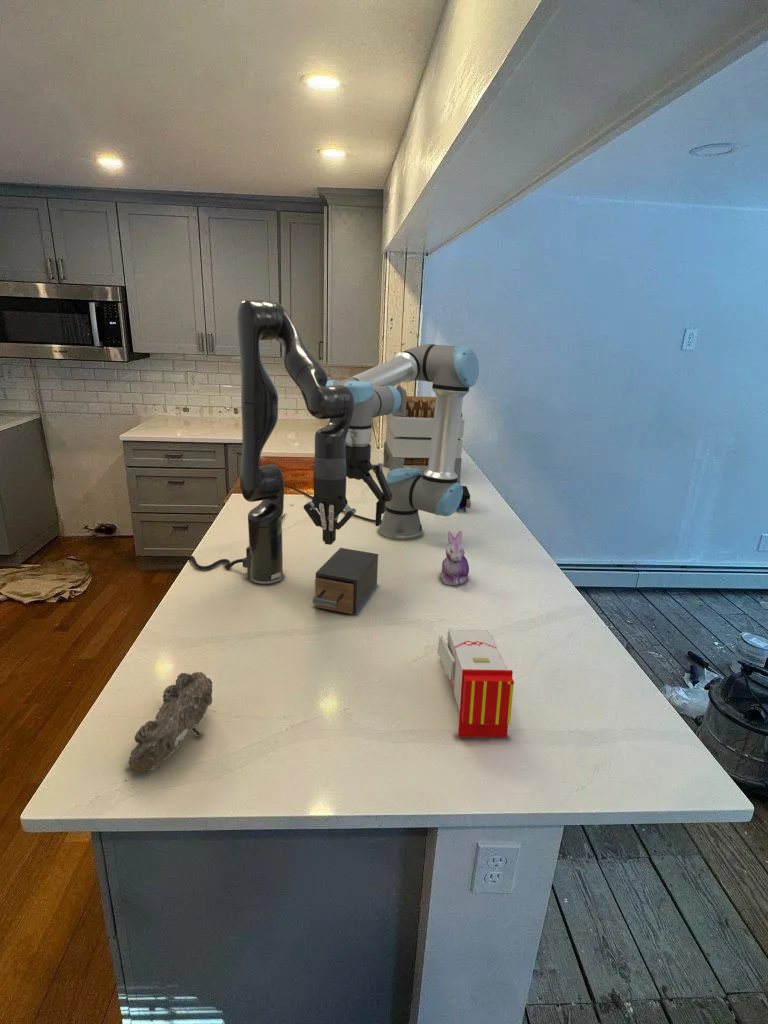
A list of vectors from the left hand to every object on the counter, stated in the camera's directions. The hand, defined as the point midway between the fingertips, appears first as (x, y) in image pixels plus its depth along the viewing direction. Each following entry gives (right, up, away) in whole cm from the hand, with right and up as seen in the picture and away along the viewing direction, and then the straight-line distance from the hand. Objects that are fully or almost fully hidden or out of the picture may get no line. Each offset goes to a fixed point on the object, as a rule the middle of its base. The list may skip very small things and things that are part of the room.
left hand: (329, 543), depth 136 cm
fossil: (-24, -33, -32) cm, 52 cm away
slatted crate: (+30, +26, +139) cm, 144 cm away
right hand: (+5, +5, +16) cm, 17 cm away
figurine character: (+44, +9, +93) cm, 103 cm away
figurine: (+34, -12, +32) cm, 48 cm away
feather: (-24, +6, +74) cm, 78 cm away
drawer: (+2, -16, +14) cm, 22 cm away
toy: (+31, -30, -18) cm, 47 cm away
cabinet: (+3, -15, +19) cm, 25 cm away
